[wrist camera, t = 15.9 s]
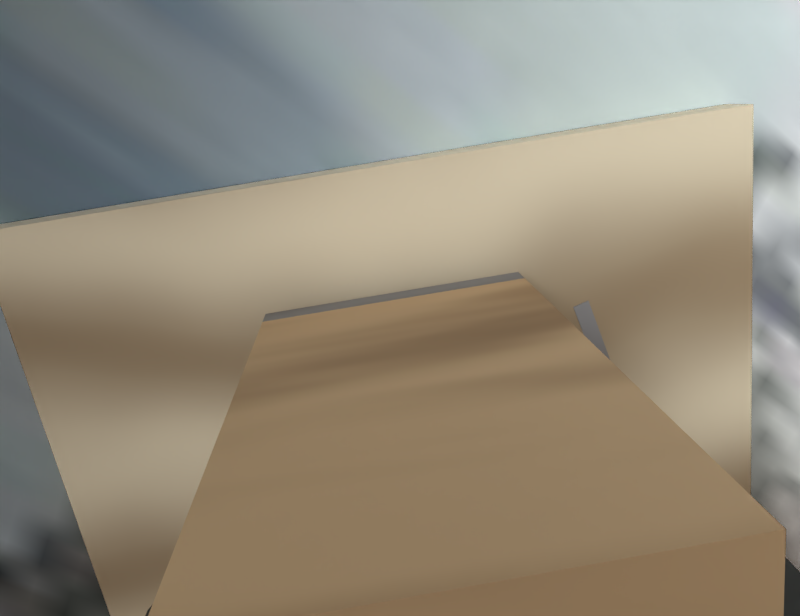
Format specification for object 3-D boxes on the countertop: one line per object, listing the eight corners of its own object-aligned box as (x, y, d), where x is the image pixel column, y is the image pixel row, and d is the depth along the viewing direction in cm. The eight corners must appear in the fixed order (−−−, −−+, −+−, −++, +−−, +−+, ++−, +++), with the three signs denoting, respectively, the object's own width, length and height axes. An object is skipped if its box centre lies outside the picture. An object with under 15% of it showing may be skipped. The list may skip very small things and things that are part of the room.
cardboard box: (265, 314, 15) (136, 645, 6) (518, 271, 16) (786, 529, 6) (320, 562, 18) (290, 1105, 8) (543, 523, 18) (772, 1007, 8)
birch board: (1, 223, 16) (-27, 233, 15) (725, 103, 17) (754, 104, 15) (209, 835, 22) (201, 876, 21) (728, 734, 23) (749, 768, 22)
